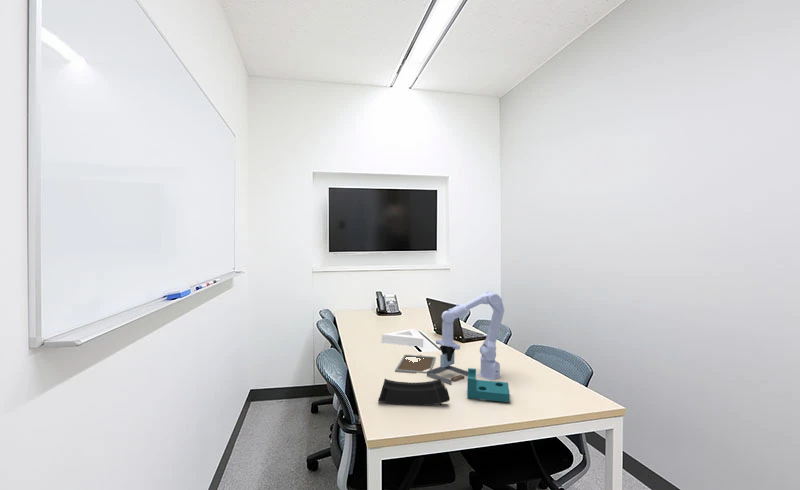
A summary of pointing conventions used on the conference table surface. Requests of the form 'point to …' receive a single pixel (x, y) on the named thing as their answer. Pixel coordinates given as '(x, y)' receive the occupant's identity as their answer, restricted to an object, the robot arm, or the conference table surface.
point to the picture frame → (415, 364)
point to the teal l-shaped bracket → (486, 388)
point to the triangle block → (403, 338)
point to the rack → (433, 372)
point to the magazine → (414, 393)
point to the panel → (444, 360)
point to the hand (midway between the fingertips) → (447, 360)
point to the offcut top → (457, 378)
